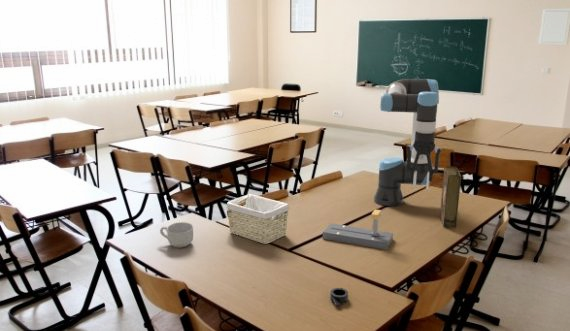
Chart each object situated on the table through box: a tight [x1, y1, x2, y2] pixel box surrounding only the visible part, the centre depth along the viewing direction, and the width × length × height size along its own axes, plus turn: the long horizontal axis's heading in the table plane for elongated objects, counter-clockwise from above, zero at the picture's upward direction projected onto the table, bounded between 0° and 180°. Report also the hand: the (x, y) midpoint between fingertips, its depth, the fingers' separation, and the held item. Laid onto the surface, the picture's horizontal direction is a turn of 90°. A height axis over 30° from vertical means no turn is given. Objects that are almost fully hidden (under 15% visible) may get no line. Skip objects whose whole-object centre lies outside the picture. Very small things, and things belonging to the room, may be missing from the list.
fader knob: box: [371, 209, 382, 236], centre depth 200 cm, size 3×6×10 cm, turn 157°
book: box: [439, 165, 462, 229], centre depth 221 cm, size 16×6×25 cm, turn 168°
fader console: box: [322, 223, 394, 250], centre depth 204 cm, size 28×11×3 cm, turn 67°
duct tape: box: [329, 287, 349, 307], centre depth 157 cm, size 8×10×3 cm
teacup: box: [159, 221, 194, 249], centre depth 198 cm, size 14×11×8 cm
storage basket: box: [226, 193, 290, 245], centre depth 208 cm, size 24×16×15 cm
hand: (420, 187), depth 194 cm, fingers open, 4 cm apart
